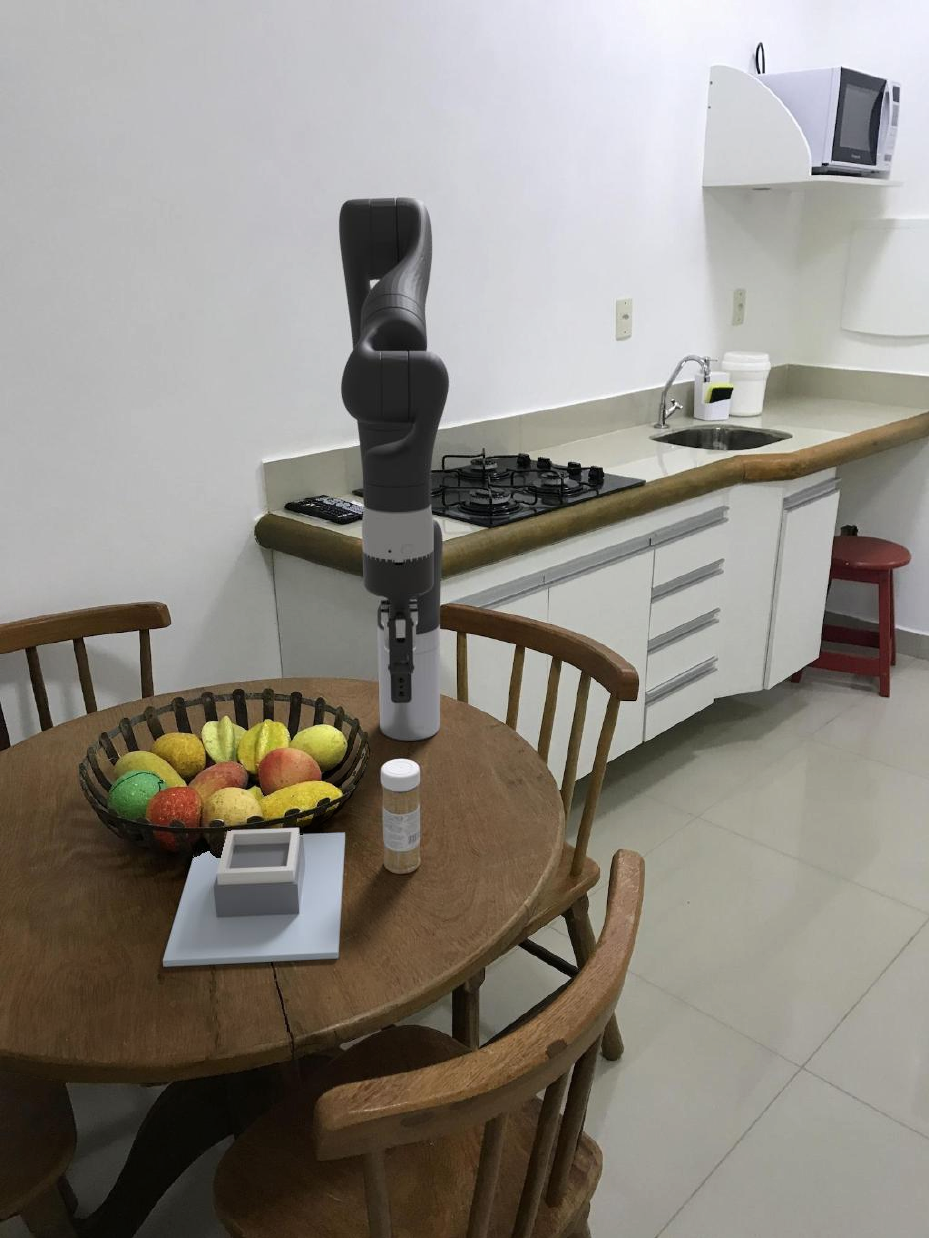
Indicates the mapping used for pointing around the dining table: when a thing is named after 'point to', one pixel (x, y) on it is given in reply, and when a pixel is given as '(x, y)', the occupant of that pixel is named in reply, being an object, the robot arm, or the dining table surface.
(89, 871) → the dining table surface
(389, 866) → the sprinkles bottle
